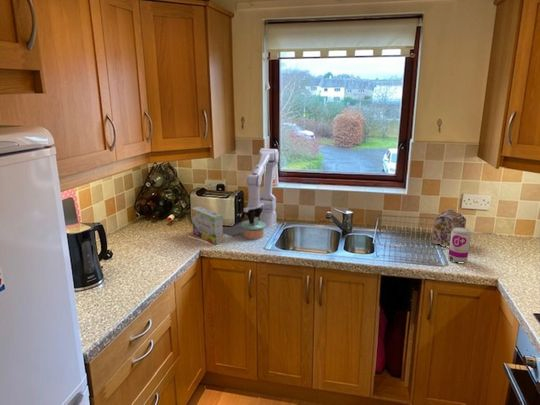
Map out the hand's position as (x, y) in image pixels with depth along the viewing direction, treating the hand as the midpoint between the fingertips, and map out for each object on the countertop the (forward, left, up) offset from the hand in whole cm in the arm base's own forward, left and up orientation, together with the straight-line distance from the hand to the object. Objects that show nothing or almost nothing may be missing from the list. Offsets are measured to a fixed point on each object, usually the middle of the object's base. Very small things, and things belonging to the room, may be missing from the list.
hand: (254, 222), depth 218 cm
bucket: (0, 0, -8) cm, 8 cm away
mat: (0, -14, -8) cm, 17 cm away
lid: (0, 0, -2) cm, 2 cm away
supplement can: (-35, +94, -8) cm, 100 cm away
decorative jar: (-55, +84, -8) cm, 100 cm away
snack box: (+18, -16, -8) cm, 26 cm away
